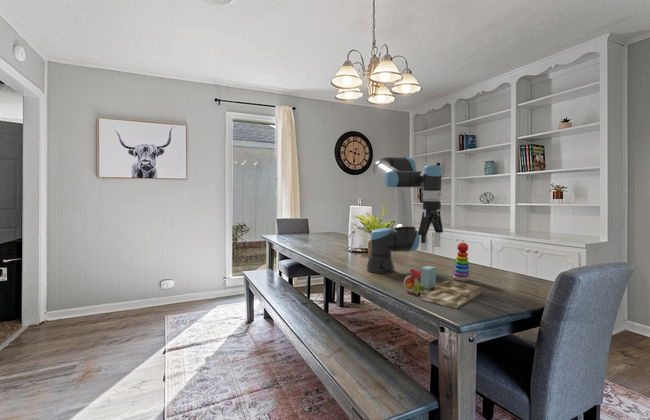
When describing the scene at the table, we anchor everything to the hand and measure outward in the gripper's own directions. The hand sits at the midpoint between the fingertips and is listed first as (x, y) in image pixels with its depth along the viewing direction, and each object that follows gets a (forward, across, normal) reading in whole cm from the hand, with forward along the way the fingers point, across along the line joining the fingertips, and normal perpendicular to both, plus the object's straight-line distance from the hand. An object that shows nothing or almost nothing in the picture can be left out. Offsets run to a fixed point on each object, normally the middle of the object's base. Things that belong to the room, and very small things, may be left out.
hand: (430, 248), depth 152 cm
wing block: (+19, +6, +3) cm, 20 cm away
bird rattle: (+19, -8, +4) cm, 21 cm away
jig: (+19, -2, -10) cm, 22 cm away
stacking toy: (+19, +30, -4) cm, 35 cm away
